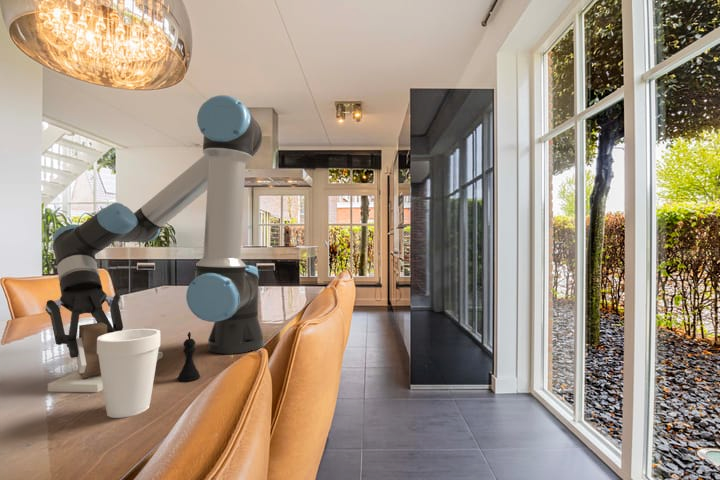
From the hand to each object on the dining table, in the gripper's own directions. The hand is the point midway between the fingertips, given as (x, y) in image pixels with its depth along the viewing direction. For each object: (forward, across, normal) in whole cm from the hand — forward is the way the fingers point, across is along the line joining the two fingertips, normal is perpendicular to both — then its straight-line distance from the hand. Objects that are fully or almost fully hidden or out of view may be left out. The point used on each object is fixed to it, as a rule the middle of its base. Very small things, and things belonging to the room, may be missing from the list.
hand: (97, 366), depth 73 cm
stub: (-1, 0, -5) cm, 5 cm away
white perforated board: (-2, -5, -8) cm, 10 cm away
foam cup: (+15, -1, +8) cm, 17 cm away
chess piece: (+9, -14, +3) cm, 18 cm away
